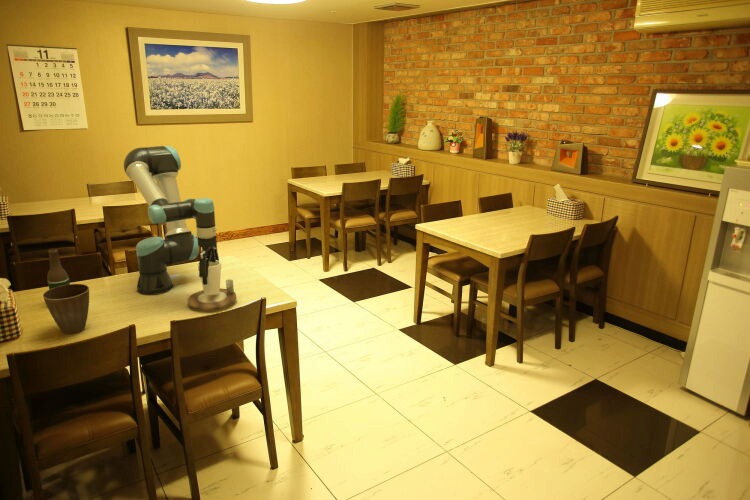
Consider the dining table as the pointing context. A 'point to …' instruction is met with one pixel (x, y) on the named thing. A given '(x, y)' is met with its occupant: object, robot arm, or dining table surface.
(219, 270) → the foam cup
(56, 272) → the beer bottle
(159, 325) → the dining table surface
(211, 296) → the turntable
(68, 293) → the plant pot
